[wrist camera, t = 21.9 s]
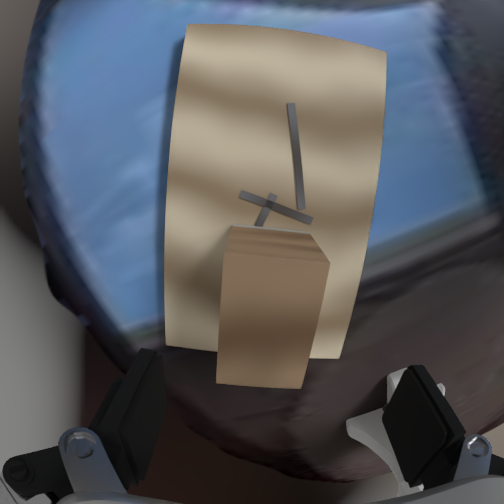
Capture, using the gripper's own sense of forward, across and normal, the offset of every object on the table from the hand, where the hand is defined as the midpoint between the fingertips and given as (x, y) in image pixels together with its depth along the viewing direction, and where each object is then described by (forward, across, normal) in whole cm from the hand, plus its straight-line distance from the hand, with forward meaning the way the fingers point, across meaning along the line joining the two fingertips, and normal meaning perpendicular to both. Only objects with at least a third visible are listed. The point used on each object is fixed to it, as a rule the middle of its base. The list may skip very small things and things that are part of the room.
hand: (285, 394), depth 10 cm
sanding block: (+11, 0, 0) cm, 11 cm away
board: (+13, +1, -5) cm, 14 cm away
